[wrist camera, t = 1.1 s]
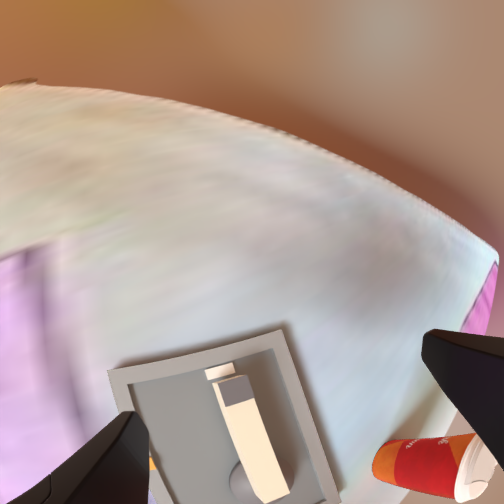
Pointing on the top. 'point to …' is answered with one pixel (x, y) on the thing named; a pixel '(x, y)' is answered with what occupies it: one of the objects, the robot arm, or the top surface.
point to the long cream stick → (251, 446)
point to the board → (222, 421)
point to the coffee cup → (437, 465)
